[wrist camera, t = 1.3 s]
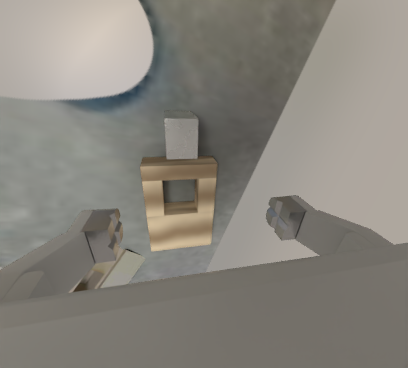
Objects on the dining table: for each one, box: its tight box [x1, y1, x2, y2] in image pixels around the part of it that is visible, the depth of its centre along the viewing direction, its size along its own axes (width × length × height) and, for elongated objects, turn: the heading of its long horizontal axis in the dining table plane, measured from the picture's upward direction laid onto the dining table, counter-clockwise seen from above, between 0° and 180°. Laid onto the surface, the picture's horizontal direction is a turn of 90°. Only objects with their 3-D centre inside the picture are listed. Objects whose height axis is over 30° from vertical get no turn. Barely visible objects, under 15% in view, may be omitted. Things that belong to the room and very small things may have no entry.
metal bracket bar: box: [164, 110, 199, 159], centre depth 26 cm, size 5×4×8 cm
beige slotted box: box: [68, 247, 145, 293], centre depth 37 cm, size 16×9×15 cm
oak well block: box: [140, 156, 218, 251], centre depth 34 cm, size 18×12×4 cm, turn 177°
